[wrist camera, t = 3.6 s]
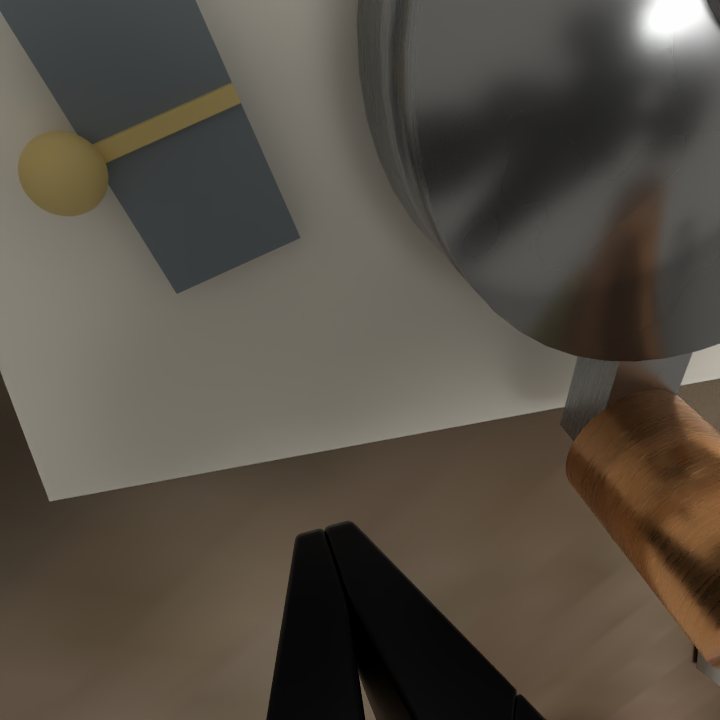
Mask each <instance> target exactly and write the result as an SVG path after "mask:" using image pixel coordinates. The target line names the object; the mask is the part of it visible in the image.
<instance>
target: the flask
mask: <svg viewBox="0 0 720 720" xmlns="http://www.w3.org/2000/svg"><path fill="white" fill-rule="evenodd" d="M697 669H698V670H700V671H701V672H702V673H704V674H705V675H706V676H707V677H709V678H710V679H711V680H713V681H714V682H715V683H716V684H718V685H719V686H720V669H716V668H714V667H712V666H710V665H709V664H708V662H707V661H706V660H705V659H704V657H703V656H702V655H701V653H700V652H699V651H698V657H697Z"/></svg>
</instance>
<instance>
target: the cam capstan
mask: <svg viewBox="0 0 720 720" xmlns="http://www.w3.org/2000/svg"><path fill="white" fill-rule="evenodd" d="M357 38H358V60H359V76H360V82H361V88H362V94H363V100H364V106H365V112H366V118H367V121H368V125H369V128H370V131H371V135H372V138H373V141H374V145H375V148H376V151H377V155H378V158H379V160H380V162H381V165H382V167H383V169H384V171H385V173H386V176H387V178H388V180H389V182H390V184H391V187H392V189H393V191H394V193H395V194H396V196H397V197H398V199H399V201H400V202H401V204H402V205H403V207H404V208H405V210H406V211H407V213H408V215H409V216H410V218H411V219H412V221H413V222H414V223H415V224H416V225H417V226H418V228H419V229H420V230H421V231H422V232H423V233H424V234H425V235H426V237H427V238H428V239H429V240H430V241H431V242H432V243H433V245H434V246H435V247H436V248H437V249H438V250H439V251H440V252H441V253H442V254H443V256H444V257H445V258H446V259H447V260H448V261H449V262H450V263H451V264H452V266H453V267H454V268H455V269H456V270H457V271H458V272H459V273H460V274H461V275H462V277H463V278H464V279H465V280H466V281H467V282H468V283H469V284H470V285H471V287H472V288H473V289H474V290H475V291H476V292H477V293H478V294H479V295H480V296H481V298H482V299H483V300H484V301H485V302H486V303H487V304H488V305H489V306H490V308H491V309H492V310H493V311H494V312H495V313H497V314H498V315H499V316H500V317H502V318H503V319H504V320H505V321H507V322H508V323H509V324H510V325H512V326H513V327H514V328H515V329H517V330H518V331H519V332H521V333H523V334H525V335H527V336H529V337H530V338H532V339H534V340H536V341H538V342H540V343H541V344H543V345H545V346H547V347H550V348H553V349H556V350H559V351H562V352H565V353H568V354H571V355H574V356H578V357H577V361H576V365H575V369H574V373H573V376H572V380H571V384H570V388H569V392H568V396H567V400H566V404H565V408H564V412H563V416H562V420H561V424H560V425H561V426H562V427H563V429H564V430H565V431H566V432H567V433H568V435H569V436H570V437H571V438H572V439H573V441H574V442H573V444H572V446H571V448H570V451H569V453H568V456H567V461H566V475H567V478H568V480H569V482H570V483H571V485H572V486H573V487H574V489H575V490H576V491H577V493H578V494H579V495H580V496H581V498H582V499H583V500H584V502H585V503H586V504H587V506H588V507H589V508H590V510H591V511H592V512H593V513H594V515H595V516H596V517H597V519H598V520H599V521H600V523H601V524H602V525H603V527H604V528H605V529H606V530H607V532H608V533H609V534H610V536H611V537H612V538H613V540H614V541H615V542H616V543H617V545H618V546H619V547H620V549H621V550H622V551H623V553H624V554H625V555H626V557H627V558H628V559H629V560H630V562H631V563H632V564H633V566H634V567H635V568H636V570H637V571H638V572H639V574H640V575H641V576H642V577H643V579H644V580H645V581H646V583H647V584H648V585H649V587H650V588H651V589H652V591H653V592H654V593H655V594H656V596H657V597H658V598H659V600H660V601H661V602H662V604H663V605H664V606H665V608H666V609H667V610H668V611H669V613H670V614H671V615H672V617H673V618H674V619H675V621H676V622H677V623H678V625H679V626H680V627H681V628H682V630H683V631H684V632H685V634H686V635H687V636H688V638H689V639H690V640H691V642H692V643H693V644H694V645H695V647H696V648H697V649H698V651H699V652H700V653H701V655H702V656H703V657H704V659H705V660H706V661H707V662H708V664H709V665H710V666H712V667H714V668H716V669H720V433H719V432H718V431H717V430H716V429H715V428H713V427H712V426H711V425H710V424H709V423H708V422H707V421H706V420H704V419H703V418H702V417H701V416H700V415H699V414H698V413H696V412H695V411H694V410H693V409H692V408H691V407H690V406H689V405H687V404H686V403H685V402H684V401H683V400H682V399H681V398H680V397H678V396H677V393H678V390H679V388H680V385H681V382H682V380H683V377H684V374H685V372H686V369H687V366H688V364H689V361H690V358H691V356H692V353H693V352H696V351H700V350H703V349H706V348H709V347H712V346H715V345H717V344H720V0H358V14H357Z"/></svg>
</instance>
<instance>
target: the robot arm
mask: <svg viewBox="0 0 720 720" xmlns="http://www.w3.org/2000/svg"><path fill="white" fill-rule="evenodd" d="M358 673H359V674H358ZM359 676H360V679H361V682H362V684H363V687H364V690H365V692H366V695H367V698H368V700H369V703H370V705H371V708H372V710H373V713H374V715H375V718H376V720H546V719H545V718H544V717H543V716H542V715H541V714H540V713H539V712H538V711H537V710H536V709H535V708H534V707H533V706H532V705H531V704H530V703H529V702H528V701H527V700H526V699H525V698H524V697H523V696H522V695H521V694H519V695H517V690H516V689H515V688H514V687H513V686H512V685H511V684H510V683H509V682H508V681H507V680H506V679H505V677H504V676H503V675H502V674H501V673H500V672H499V671H498V670H497V669H496V668H495V667H494V666H493V665H492V664H491V663H490V662H489V661H488V660H487V659H486V658H485V657H484V656H483V655H482V654H481V653H480V652H479V651H478V650H477V649H476V648H475V647H474V646H473V645H472V644H471V643H470V642H469V641H468V640H467V638H466V637H465V636H464V635H463V634H462V633H461V632H460V631H459V630H458V629H457V628H456V627H455V626H454V625H453V624H452V623H451V622H450V621H449V620H448V619H447V618H446V617H445V616H444V615H443V614H442V613H441V612H440V611H439V610H438V609H437V608H436V607H435V606H434V605H433V604H432V603H431V602H430V601H429V600H428V598H427V597H426V596H425V595H424V594H423V593H422V592H421V591H420V590H419V589H418V588H417V587H416V586H415V585H414V584H413V583H412V582H411V581H410V580H409V579H408V578H407V577H406V576H405V575H404V574H403V573H402V572H401V571H400V570H399V569H398V568H397V567H396V566H395V565H394V564H393V563H392V562H391V561H390V559H389V558H388V557H387V556H386V555H385V554H384V553H383V552H382V551H381V550H380V549H379V548H378V547H377V546H376V545H375V544H374V543H373V542H372V541H371V540H370V539H369V538H368V537H367V536H366V535H365V534H364V533H363V532H362V531H361V530H360V529H359V528H358V527H357V526H356V525H355V524H354V523H353V522H351V521H345V522H341V523H338V524H334V525H330V526H328V527H326V529H325V532H324V531H323V530H322V529H316V530H312V531H308V532H305V533H301V534H299V535H298V536H297V537H296V539H295V544H294V550H293V557H292V563H291V569H290V575H289V582H288V588H287V594H286V600H285V607H284V613H283V619H282V625H281V631H280V638H279V644H278V650H277V656H276V663H275V669H274V675H273V681H272V687H271V694H270V700H269V706H268V712H267V719H266V720H365V715H364V708H363V701H362V694H361V687H360V680H359ZM516 696H517V697H516Z"/></svg>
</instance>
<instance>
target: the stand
mask: <svg viewBox="0 0 720 720" xmlns="http://www.w3.org/2000/svg"><path fill="white" fill-rule="evenodd" d="M357 14H358V0H0V372H1V374H2V377H3V380H4V382H5V385H6V388H7V390H8V393H9V396H10V398H11V401H12V404H13V406H14V409H15V411H16V414H17V417H18V419H19V422H20V425H21V427H22V430H23V433H24V435H25V438H26V441H27V443H28V446H29V448H30V451H31V454H32V456H33V459H34V462H35V464H36V467H37V470H38V472H39V475H40V478H41V480H42V483H43V486H44V488H45V491H46V493H47V496H48V499H49V501H55V500H61V499H66V498H72V497H77V496H82V495H88V494H93V493H99V492H104V491H110V490H115V489H120V488H126V487H131V486H137V485H142V484H148V483H153V482H158V481H164V480H169V479H175V478H180V477H186V476H191V475H197V474H202V473H207V472H213V471H218V470H224V469H229V468H235V467H240V466H245V465H251V464H256V463H262V462H267V461H273V460H278V459H283V458H289V457H294V456H300V455H305V454H311V453H316V452H322V451H327V450H332V449H338V448H343V447H349V446H354V445H360V444H365V443H370V442H376V441H381V440H387V439H392V438H398V437H403V436H408V435H414V434H419V433H425V432H430V431H436V430H441V429H446V428H452V427H457V426H463V425H468V424H474V423H479V422H485V421H490V420H495V419H501V418H506V417H512V416H517V415H523V414H528V413H533V412H539V411H544V410H550V409H555V408H561V407H565V404H566V400H567V396H568V392H569V388H570V384H571V380H572V376H573V373H574V369H575V365H576V361H577V357H578V356H574V355H571V354H568V353H565V352H562V351H559V350H556V349H553V348H550V347H547V346H545V345H543V344H541V343H540V342H538V341H536V340H534V339H532V338H530V337H529V336H527V335H525V334H523V333H521V332H519V331H518V330H517V329H515V328H514V327H513V326H512V325H510V324H509V323H508V322H507V321H505V320H504V319H503V318H502V317H500V316H499V315H498V314H497V313H495V312H494V311H493V310H492V309H491V308H490V306H489V305H488V304H487V303H486V302H485V301H484V300H483V299H482V298H481V296H480V295H479V294H478V293H477V292H476V291H475V290H474V289H473V288H472V287H471V285H470V284H469V283H468V282H467V281H466V280H465V279H464V278H463V277H462V275H461V274H460V273H459V272H458V271H457V270H456V269H455V268H454V267H453V266H452V264H451V263H450V262H449V261H448V260H447V259H446V258H445V257H444V256H443V254H442V253H441V252H440V251H439V250H438V249H437V248H436V247H435V246H434V245H433V243H432V242H431V241H430V240H429V239H428V238H427V237H426V235H425V234H424V233H423V232H422V231H421V230H420V229H419V228H418V226H417V225H416V224H415V223H414V222H413V221H412V219H411V218H410V216H409V215H408V213H407V211H406V210H405V208H404V207H403V205H402V204H401V202H400V201H399V199H398V197H397V196H396V194H395V193H394V191H393V189H392V187H391V184H390V182H389V180H388V178H387V176H386V173H385V171H384V169H383V167H382V165H381V162H380V160H379V158H378V155H377V151H376V148H375V145H374V141H373V138H372V135H371V131H370V128H369V125H368V121H367V118H366V112H365V106H364V100H363V94H362V88H361V82H360V76H359V60H358V38H357ZM718 378H720V344H717V345H715V346H712V347H709V348H706V349H703V350H700V351H696V352H693V353H692V356H691V358H690V361H689V364H688V366H687V369H686V372H685V374H684V377H683V380H682V382H681V385H686V384H691V383H696V382H702V381H707V380H713V379H718Z"/></svg>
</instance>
